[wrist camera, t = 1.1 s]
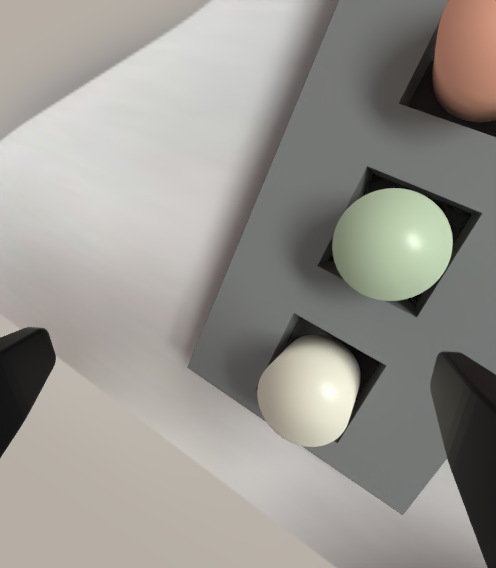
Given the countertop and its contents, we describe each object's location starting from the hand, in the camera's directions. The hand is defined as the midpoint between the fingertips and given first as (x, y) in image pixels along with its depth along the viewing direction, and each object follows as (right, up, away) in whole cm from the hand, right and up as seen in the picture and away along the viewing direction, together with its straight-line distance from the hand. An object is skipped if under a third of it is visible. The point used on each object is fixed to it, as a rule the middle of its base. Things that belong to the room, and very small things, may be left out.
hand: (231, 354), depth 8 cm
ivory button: (+4, -3, +12) cm, 13 cm away
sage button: (+7, +4, +9) cm, 12 cm away
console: (+8, +4, +11) cm, 14 cm away
